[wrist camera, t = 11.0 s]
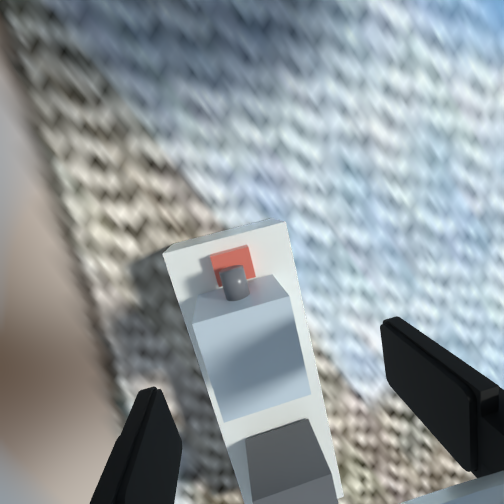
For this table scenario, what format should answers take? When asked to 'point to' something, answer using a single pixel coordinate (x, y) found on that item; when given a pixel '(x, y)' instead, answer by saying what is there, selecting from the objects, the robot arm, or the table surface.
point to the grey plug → (250, 344)
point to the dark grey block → (289, 467)
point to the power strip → (283, 269)
